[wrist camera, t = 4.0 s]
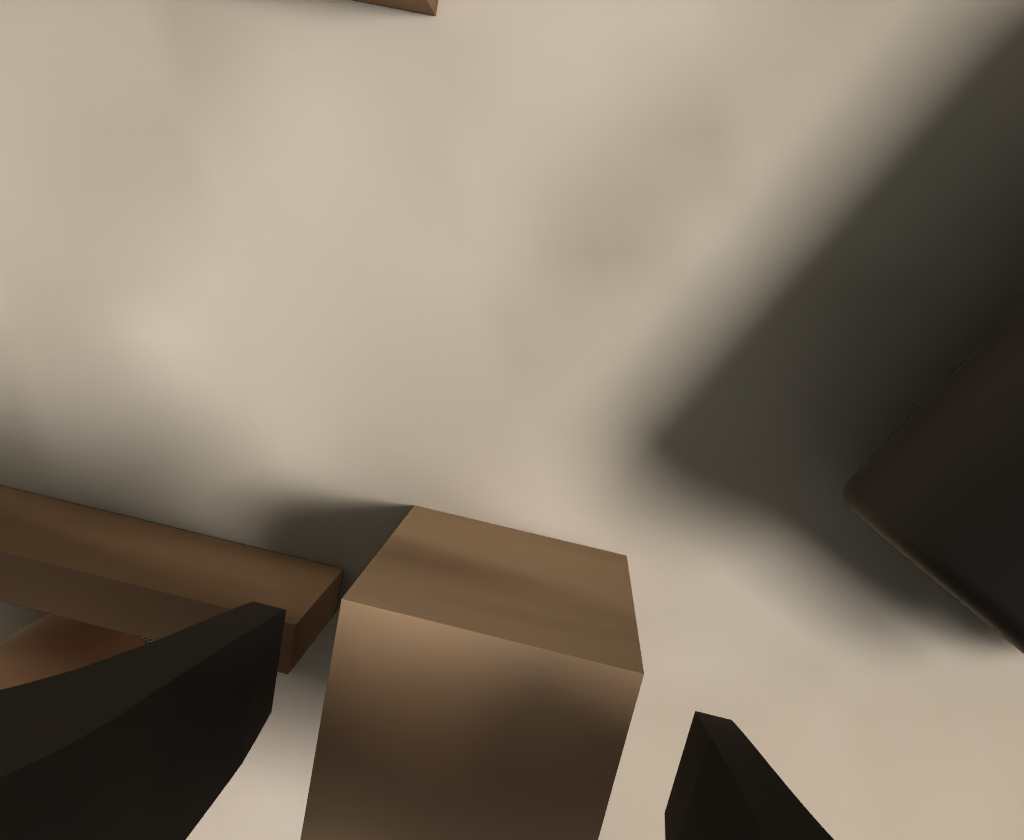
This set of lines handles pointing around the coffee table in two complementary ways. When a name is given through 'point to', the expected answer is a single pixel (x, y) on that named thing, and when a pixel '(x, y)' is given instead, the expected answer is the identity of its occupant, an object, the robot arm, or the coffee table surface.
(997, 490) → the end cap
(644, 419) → the coffee table surface
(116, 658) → the robot arm
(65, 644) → the tan rounded capsule
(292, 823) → the coffee table surface
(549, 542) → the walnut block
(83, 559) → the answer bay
